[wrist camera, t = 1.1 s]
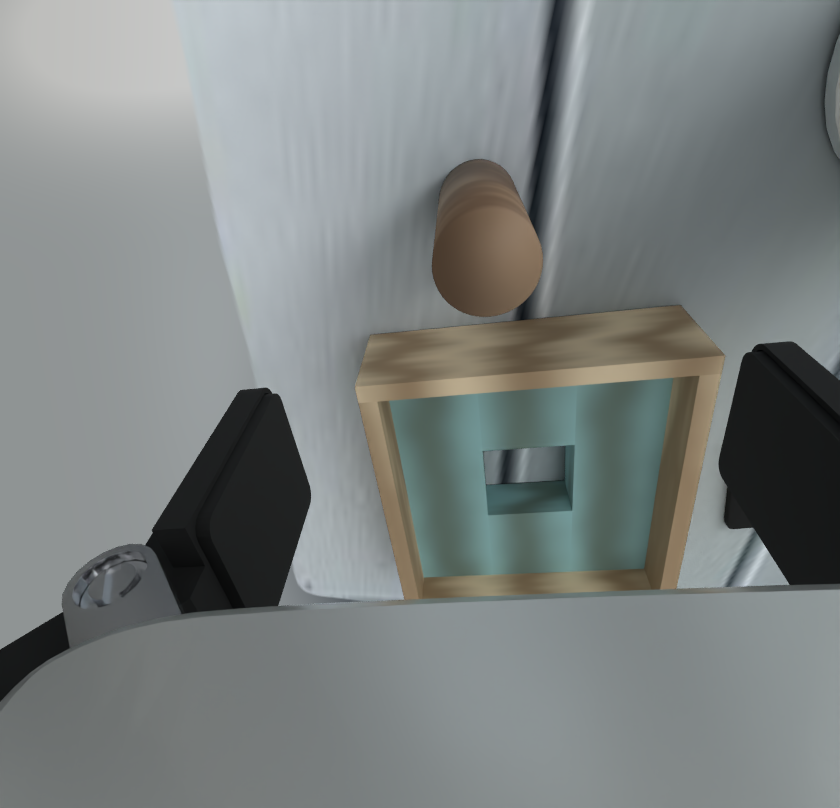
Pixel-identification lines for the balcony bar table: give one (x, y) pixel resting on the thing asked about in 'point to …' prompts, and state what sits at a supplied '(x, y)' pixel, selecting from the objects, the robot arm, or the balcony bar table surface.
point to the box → (541, 427)
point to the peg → (484, 242)
